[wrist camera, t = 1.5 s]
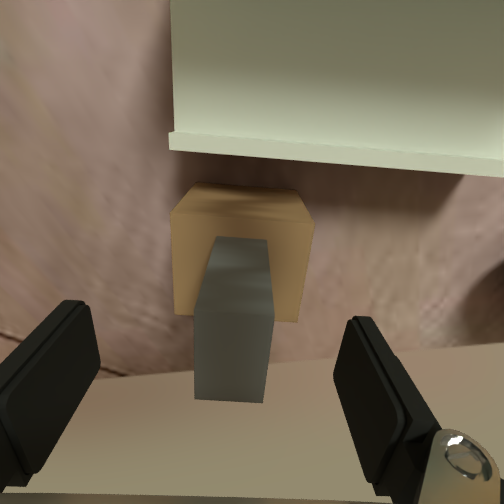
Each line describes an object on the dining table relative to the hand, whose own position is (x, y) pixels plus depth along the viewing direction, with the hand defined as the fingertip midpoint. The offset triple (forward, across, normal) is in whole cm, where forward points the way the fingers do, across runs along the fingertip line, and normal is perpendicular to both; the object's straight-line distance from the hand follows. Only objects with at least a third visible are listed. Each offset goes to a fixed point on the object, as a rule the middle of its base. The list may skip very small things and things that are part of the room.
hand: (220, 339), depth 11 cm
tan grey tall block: (+12, -1, 0) cm, 12 cm away
